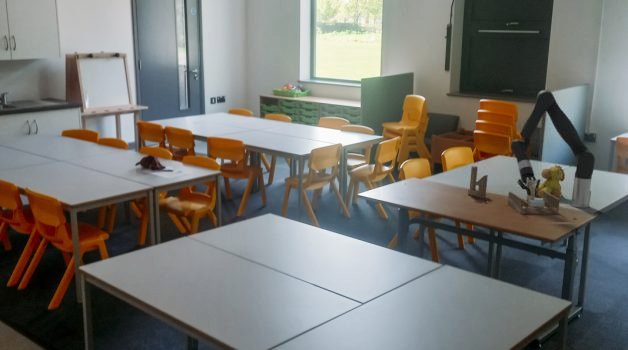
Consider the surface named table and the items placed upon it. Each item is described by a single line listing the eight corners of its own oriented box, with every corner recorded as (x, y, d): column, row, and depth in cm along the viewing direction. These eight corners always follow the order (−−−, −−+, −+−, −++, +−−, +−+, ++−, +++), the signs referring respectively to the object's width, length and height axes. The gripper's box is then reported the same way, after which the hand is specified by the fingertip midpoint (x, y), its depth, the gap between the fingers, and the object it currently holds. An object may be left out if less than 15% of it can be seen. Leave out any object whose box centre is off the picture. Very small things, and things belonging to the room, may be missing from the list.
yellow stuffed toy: (524, 192, 418) (527, 163, 414) (556, 191, 424) (559, 162, 420) (543, 201, 399) (547, 170, 394) (577, 199, 405) (580, 168, 401)
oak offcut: (541, 210, 373) (541, 205, 372) (543, 211, 370) (544, 206, 370) (527, 210, 372) (528, 205, 372) (529, 211, 369) (530, 206, 369)
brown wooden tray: (543, 206, 385) (545, 191, 383) (557, 215, 368) (559, 199, 366) (507, 206, 383) (509, 191, 381) (520, 215, 366) (521, 199, 363)
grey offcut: (541, 205, 372) (542, 199, 372) (544, 206, 370) (544, 201, 369) (528, 205, 372) (528, 199, 371) (530, 206, 369) (530, 201, 368)
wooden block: (482, 198, 400) (484, 169, 396) (467, 194, 408) (470, 166, 404) (485, 197, 402) (488, 168, 398) (471, 193, 410) (473, 165, 406)
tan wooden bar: (530, 205, 381) (532, 180, 378) (533, 207, 377) (535, 181, 374) (526, 205, 381) (528, 180, 377) (529, 207, 377) (531, 181, 374)
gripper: (516, 165, 381) (523, 191, 371) (539, 166, 382) (546, 191, 373) (512, 172, 387) (518, 198, 378) (534, 172, 388) (541, 198, 379)
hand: (532, 195), depth 375 cm, fingers closed on tan wooden bar, 2 cm apart
